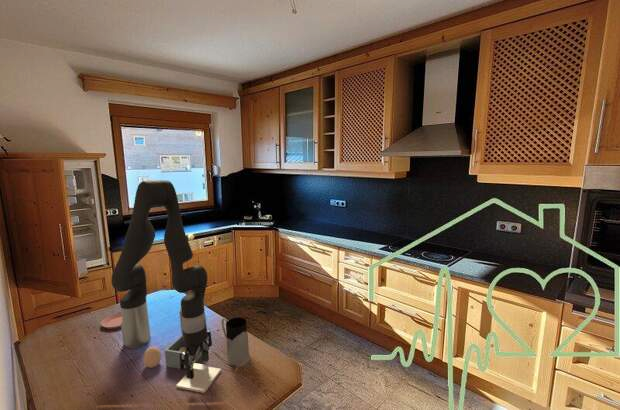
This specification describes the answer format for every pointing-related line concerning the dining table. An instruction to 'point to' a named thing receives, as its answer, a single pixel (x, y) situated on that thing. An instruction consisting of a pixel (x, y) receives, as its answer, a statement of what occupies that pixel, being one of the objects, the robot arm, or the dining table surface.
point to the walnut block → (182, 349)
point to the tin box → (176, 353)
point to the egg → (152, 357)
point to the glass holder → (236, 341)
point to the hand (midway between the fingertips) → (198, 369)
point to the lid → (199, 378)
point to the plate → (112, 321)
